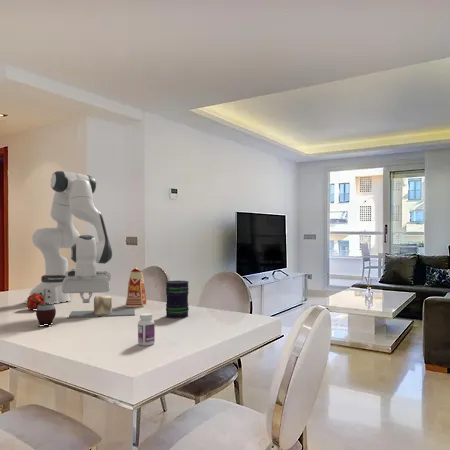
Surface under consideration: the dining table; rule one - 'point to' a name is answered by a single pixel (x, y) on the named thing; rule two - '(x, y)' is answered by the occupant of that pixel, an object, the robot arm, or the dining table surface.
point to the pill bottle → (146, 330)
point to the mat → (114, 313)
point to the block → (102, 305)
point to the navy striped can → (177, 299)
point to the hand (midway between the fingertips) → (86, 302)
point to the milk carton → (136, 290)
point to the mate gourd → (45, 312)
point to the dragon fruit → (35, 301)
